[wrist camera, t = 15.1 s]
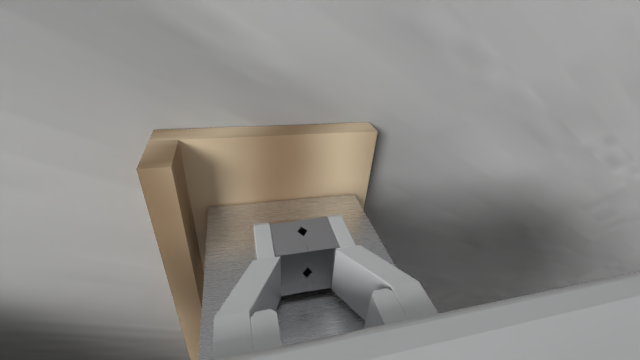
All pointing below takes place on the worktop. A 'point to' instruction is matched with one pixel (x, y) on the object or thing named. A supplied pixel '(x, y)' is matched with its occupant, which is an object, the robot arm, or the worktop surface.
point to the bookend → (239, 251)
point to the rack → (239, 187)
